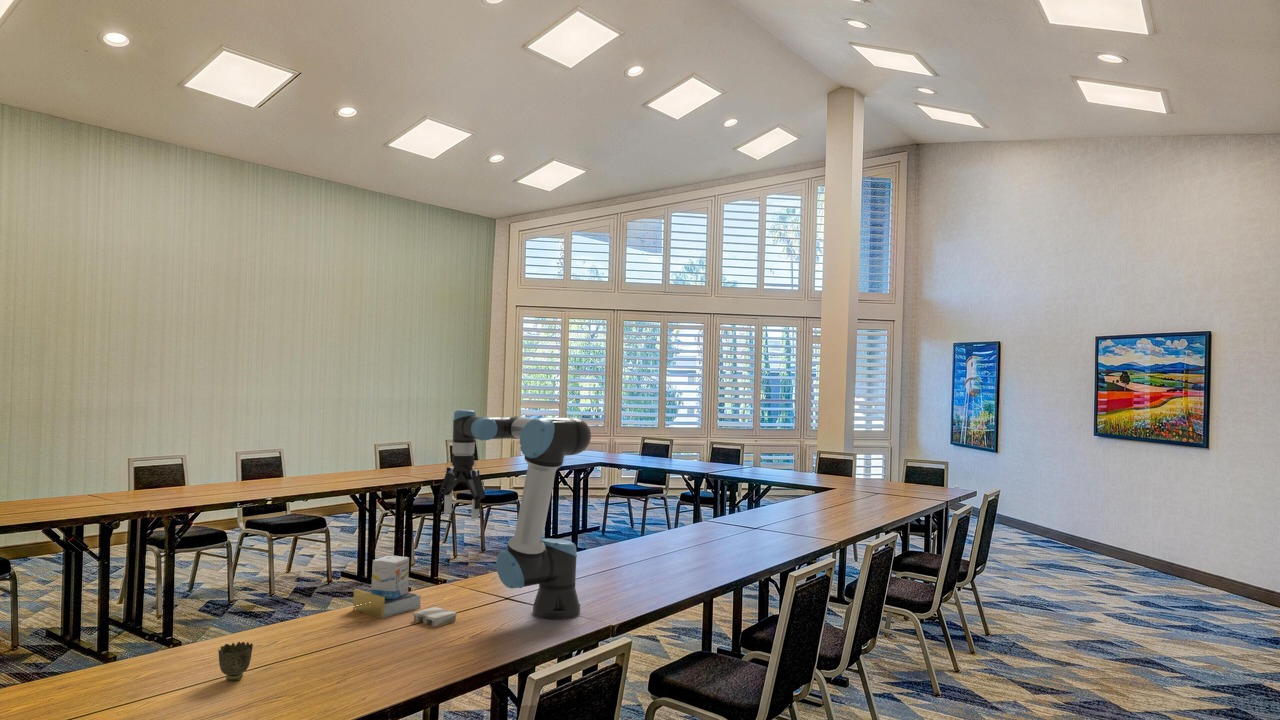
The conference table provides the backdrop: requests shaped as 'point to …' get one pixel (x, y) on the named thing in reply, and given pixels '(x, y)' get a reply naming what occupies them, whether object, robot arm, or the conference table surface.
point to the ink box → (390, 576)
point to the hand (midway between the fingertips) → (461, 516)
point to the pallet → (435, 616)
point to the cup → (235, 660)
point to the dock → (384, 604)
